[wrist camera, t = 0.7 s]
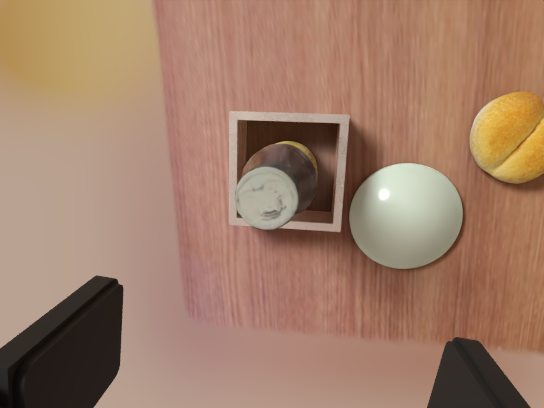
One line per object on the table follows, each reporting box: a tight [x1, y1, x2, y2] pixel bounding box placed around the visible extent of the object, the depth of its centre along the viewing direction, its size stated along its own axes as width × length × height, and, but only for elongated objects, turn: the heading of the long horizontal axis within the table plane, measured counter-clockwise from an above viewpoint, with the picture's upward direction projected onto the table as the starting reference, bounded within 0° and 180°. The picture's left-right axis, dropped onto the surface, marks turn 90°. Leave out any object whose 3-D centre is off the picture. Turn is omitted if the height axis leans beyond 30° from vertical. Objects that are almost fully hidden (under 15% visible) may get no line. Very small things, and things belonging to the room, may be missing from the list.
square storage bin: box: [229, 111, 350, 232], centre depth 39 cm, size 12×12×5 cm
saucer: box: [349, 163, 463, 269], centre depth 41 cm, size 12×12×1 cm
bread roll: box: [470, 92, 544, 184], centre depth 36 cm, size 8×9×4 cm
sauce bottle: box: [235, 141, 318, 230], centre depth 32 cm, size 6×6×20 cm
